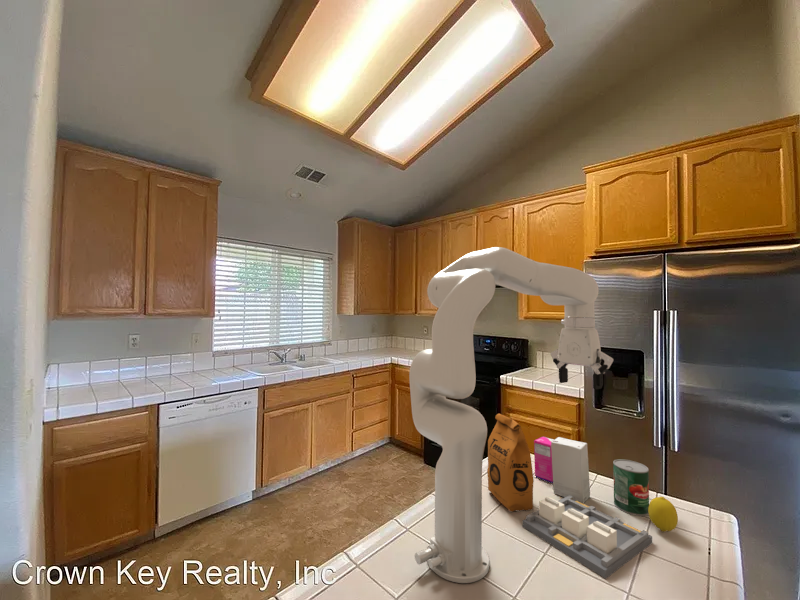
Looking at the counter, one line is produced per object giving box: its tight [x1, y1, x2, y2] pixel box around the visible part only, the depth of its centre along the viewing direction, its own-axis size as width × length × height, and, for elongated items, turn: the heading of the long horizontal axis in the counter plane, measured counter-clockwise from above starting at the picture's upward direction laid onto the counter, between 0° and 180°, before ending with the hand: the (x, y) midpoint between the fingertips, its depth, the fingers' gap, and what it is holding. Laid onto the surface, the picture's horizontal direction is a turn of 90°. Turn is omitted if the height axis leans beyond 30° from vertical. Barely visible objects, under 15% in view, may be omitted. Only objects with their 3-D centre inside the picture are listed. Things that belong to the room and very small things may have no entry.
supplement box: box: [533, 436, 555, 484], centre depth 108 cm, size 6×6×12 cm
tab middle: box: [562, 508, 589, 538], centre depth 77 cm, size 4×4×5 cm
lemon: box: [648, 496, 679, 533], centre depth 81 cm, size 6×6×8 cm
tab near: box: [587, 521, 617, 554], centre depth 73 cm, size 4×4×5 cm
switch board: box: [522, 495, 653, 580], centre depth 80 cm, size 20×19×2 cm
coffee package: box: [486, 413, 534, 513], centre depth 94 cm, size 10×12×22 cm
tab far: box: [538, 496, 565, 524], centre depth 82 cm, size 4×4×5 cm
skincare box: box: [551, 436, 591, 504], centre depth 97 cm, size 8×6×15 cm
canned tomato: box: [612, 458, 650, 517], centre depth 92 cm, size 8×8×11 cm
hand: (579, 385), depth 96 cm, fingers open, 9 cm apart
